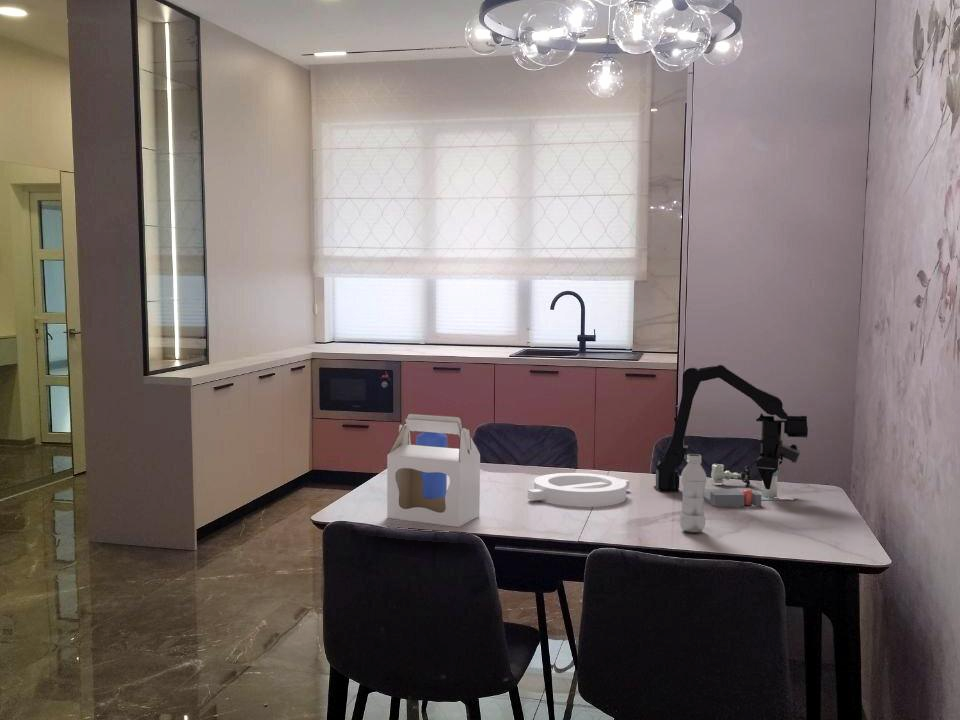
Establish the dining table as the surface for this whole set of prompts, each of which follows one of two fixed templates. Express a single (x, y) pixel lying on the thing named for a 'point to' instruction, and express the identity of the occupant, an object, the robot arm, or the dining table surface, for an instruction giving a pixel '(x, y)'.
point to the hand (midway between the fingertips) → (769, 486)
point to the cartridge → (771, 487)
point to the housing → (729, 498)
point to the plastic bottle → (693, 495)
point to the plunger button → (747, 497)
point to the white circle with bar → (579, 489)
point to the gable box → (412, 459)
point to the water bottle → (433, 481)
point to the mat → (769, 498)
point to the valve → (728, 474)
